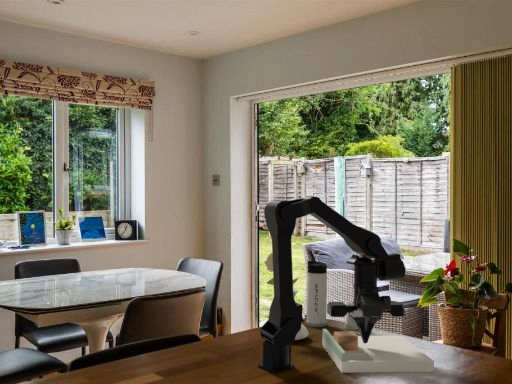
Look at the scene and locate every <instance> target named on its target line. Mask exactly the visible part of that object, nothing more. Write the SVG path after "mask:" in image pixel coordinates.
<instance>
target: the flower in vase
mask: <svg viewBox="0 0 512 384" xmlns="http://www.w3.org/2000/svg"><path fill="white" fill-rule="evenodd" d="M264 264H265V267H266V270H267V271H269V272H270V273H271V272H272V273H273V255H272V253H270V254H268V256H267V257H266V260H264ZM298 279H299V277H297V278H293V285H294V284H296V283H297V282H298ZM266 284H267V285H272V286H274V280H273V278H271V279H269V280H268V281H267V282H266ZM298 292H299V290H298V289H295V288H293V296H294V299H295V297H296V295H297V293H298ZM308 336H309V331H308V329H307V327H306V326H305V325H303V323H301V330H300V331H299V332H298V333H297V335H296V338H295V341H299V340H303V339H305V338H307V337H308Z"/></svg>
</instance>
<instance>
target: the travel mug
mask: <svg viewBox="0 0 512 384" xmlns="http://www.w3.org/2000/svg"><path fill="white" fill-rule="evenodd" d="M306 262H307V265H306V266H307V272H306V274H307V275H306V321H305V322H306V325H307V327H311V328H324V327H326V326H327V304H328V303H327V301H328V300H327V298H328V297H327V294H328V293H327V292H328V288H327V287H328V272H327V271H328V270H327V269H328V265H327V264H326V263H324V262H320V261H314V260H307V261H306Z"/></svg>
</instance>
